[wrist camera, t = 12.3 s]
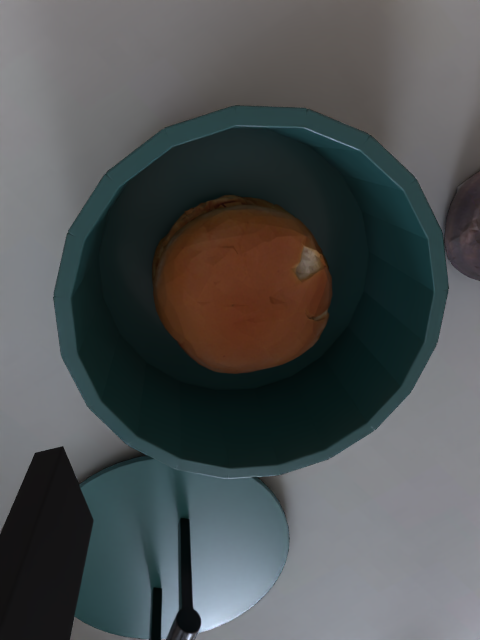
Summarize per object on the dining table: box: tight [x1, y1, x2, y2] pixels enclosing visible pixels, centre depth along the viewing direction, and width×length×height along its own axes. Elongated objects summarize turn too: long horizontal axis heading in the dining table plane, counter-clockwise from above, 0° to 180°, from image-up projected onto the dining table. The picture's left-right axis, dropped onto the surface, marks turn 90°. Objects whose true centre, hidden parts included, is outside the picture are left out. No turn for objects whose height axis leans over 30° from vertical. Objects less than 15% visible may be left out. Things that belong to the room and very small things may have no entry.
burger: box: [152, 195, 332, 374], centre depth 25 cm, size 10×9×5 cm
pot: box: [53, 105, 449, 479], centre depth 24 cm, size 17×17×8 cm
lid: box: [75, 455, 290, 640], centre depth 30 cm, size 18×18×9 cm
